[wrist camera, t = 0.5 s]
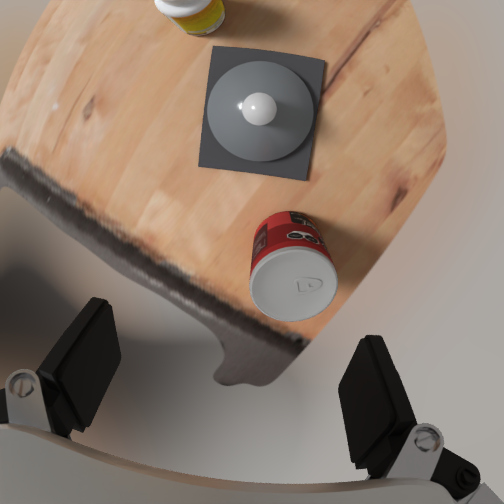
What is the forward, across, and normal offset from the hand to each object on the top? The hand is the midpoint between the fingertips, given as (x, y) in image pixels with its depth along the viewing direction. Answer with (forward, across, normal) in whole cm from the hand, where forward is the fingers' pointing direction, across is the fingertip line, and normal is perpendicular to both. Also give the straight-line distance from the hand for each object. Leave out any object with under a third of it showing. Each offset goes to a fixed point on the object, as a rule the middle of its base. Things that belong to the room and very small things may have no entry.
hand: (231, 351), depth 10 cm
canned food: (+26, -5, +6) cm, 27 cm away
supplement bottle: (+26, +8, -20) cm, 33 cm away
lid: (+25, +1, -9) cm, 26 cm away
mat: (+25, +1, -9) cm, 27 cm away
